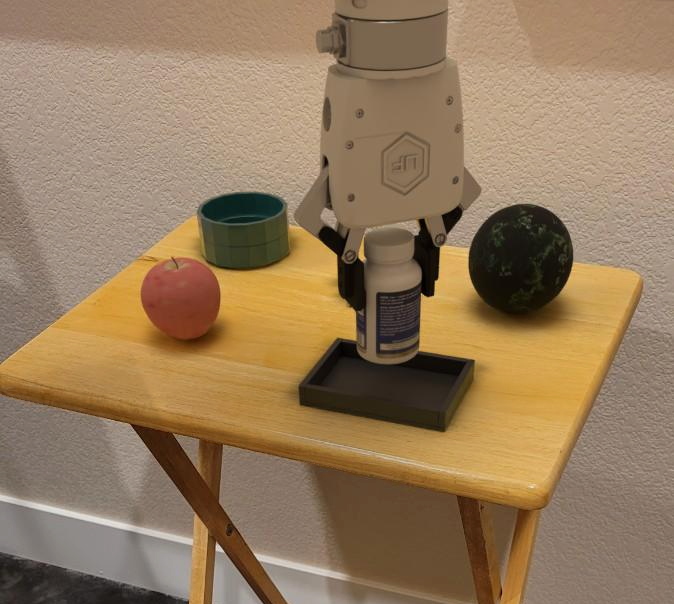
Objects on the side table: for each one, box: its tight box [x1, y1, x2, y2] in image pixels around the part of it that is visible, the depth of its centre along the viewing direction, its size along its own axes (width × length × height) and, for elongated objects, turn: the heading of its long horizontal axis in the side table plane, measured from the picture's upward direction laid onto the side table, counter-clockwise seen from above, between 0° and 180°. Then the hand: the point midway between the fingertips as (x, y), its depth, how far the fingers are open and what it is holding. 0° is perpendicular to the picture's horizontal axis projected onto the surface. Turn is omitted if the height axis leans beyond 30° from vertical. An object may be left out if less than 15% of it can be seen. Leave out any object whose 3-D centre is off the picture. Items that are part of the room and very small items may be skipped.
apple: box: [140, 255, 222, 341], centre depth 84 cm, size 7×7×8 cm
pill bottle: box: [355, 226, 422, 364], centre depth 72 cm, size 5×5×10 cm
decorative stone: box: [467, 203, 574, 315], centre depth 86 cm, size 10×10×10 cm
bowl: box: [196, 191, 291, 269], centre depth 100 cm, size 10×10×5 cm
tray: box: [297, 337, 476, 433], centre depth 78 cm, size 13×9×2 cm
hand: (388, 295), depth 72 cm, fingers closed on pill bottle, 5 cm apart
